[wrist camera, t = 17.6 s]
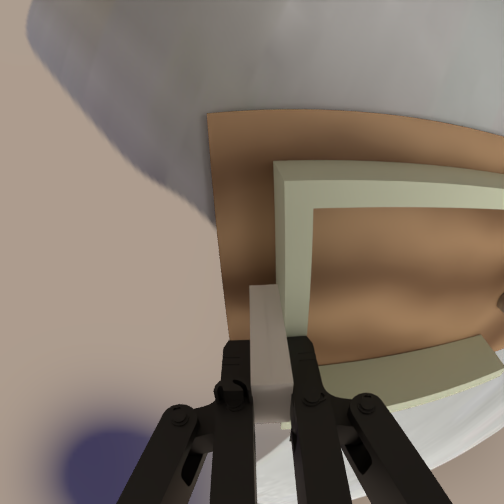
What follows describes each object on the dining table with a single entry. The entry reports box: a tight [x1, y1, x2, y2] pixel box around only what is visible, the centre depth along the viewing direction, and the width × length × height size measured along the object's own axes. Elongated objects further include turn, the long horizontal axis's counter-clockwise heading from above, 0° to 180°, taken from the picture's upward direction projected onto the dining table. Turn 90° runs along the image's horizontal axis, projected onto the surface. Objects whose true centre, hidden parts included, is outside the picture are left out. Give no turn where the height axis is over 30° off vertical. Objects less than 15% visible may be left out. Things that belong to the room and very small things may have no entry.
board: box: [207, 109, 504, 366], centre depth 17 cm, size 20×32×3 cm, turn 93°
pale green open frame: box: [273, 160, 504, 430], centre depth 15 cm, size 15×19×4 cm
